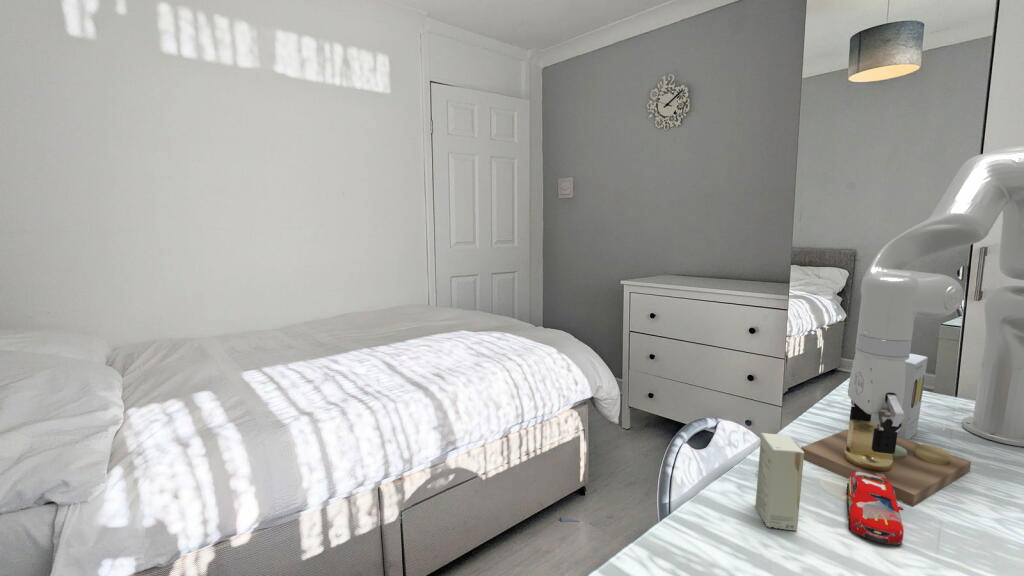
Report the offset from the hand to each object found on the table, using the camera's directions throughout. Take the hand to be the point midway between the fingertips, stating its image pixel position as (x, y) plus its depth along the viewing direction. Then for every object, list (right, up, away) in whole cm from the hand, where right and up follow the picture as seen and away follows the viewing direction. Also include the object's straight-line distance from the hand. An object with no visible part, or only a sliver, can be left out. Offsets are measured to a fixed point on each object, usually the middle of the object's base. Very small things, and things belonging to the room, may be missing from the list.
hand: (870, 439), depth 88 cm
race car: (-8, -9, -11) cm, 17 cm away
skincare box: (-23, -8, -12) cm, 28 cm away
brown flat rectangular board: (+5, -6, +4) cm, 9 cm away
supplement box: (+16, -4, +18) cm, 25 cm away
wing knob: (0, -4, +1) cm, 4 cm away
